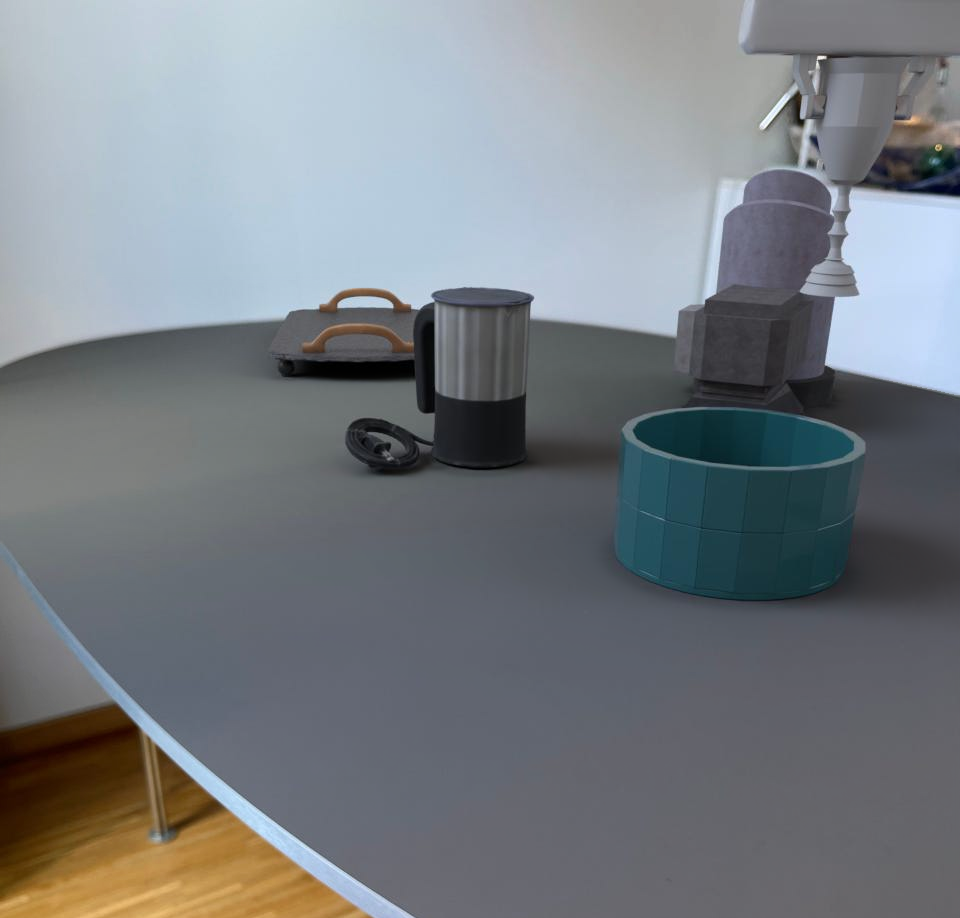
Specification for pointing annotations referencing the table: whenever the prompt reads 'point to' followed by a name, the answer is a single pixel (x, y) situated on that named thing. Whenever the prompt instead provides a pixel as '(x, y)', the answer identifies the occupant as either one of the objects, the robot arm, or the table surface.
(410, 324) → the serving tray
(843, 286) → the chalice
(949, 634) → the table surface
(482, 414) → the milk frother
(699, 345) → the juicer
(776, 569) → the pot
